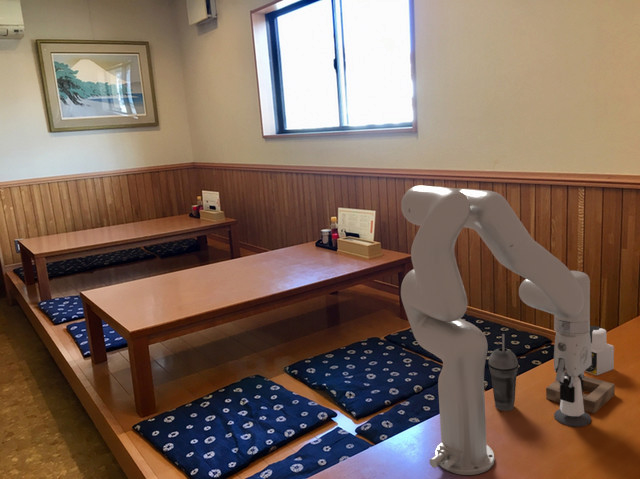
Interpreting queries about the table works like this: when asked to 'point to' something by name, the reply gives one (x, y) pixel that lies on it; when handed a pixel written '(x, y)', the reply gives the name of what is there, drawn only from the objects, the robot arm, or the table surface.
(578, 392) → the pepper shaker
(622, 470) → the table surface
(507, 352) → the beverage cup
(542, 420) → the table surface
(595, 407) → the board
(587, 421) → the coaster
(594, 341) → the medicine bottle
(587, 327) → the robot arm
